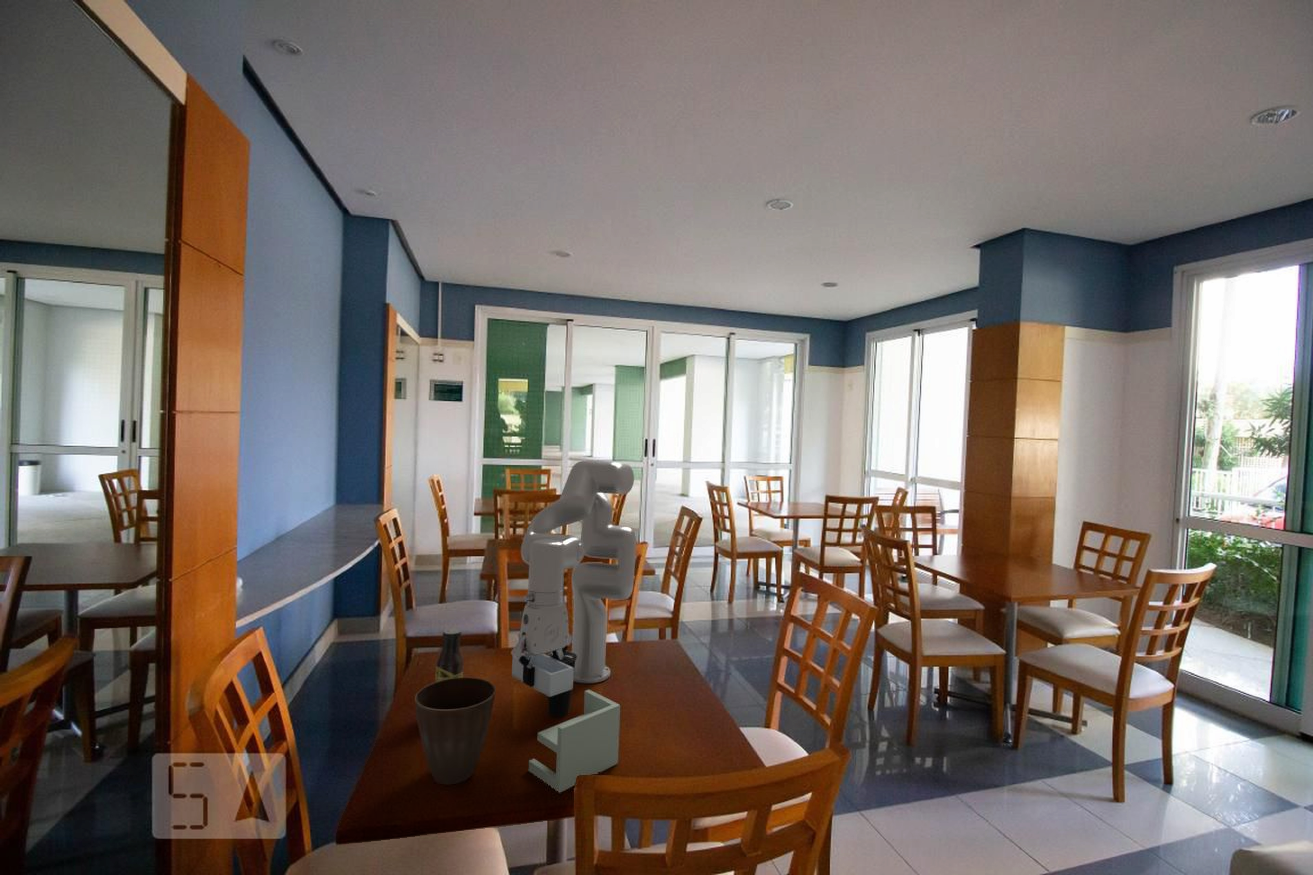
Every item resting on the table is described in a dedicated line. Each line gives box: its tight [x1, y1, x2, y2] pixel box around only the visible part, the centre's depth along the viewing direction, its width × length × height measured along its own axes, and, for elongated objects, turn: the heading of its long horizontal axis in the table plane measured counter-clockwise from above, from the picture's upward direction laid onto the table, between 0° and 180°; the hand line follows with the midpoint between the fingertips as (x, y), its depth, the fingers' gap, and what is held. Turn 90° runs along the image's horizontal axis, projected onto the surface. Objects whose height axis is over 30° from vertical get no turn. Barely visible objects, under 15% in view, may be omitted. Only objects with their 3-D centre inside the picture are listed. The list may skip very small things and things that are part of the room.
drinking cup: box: [546, 649, 577, 718], centre depth 142 cm, size 8×8×20 cm
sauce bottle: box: [434, 627, 464, 683], centre depth 139 cm, size 6×6×20 cm
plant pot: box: [414, 676, 497, 786], centre depth 114 cm, size 15×15×16 cm
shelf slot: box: [528, 689, 621, 794], centre depth 118 cm, size 10×15×12 cm, turn 136°
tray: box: [511, 652, 574, 697], centre depth 127 cm, size 14×6×4 cm, turn 47°
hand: (541, 679), depth 127 cm, fingers closed on tray, 6 cm apart
